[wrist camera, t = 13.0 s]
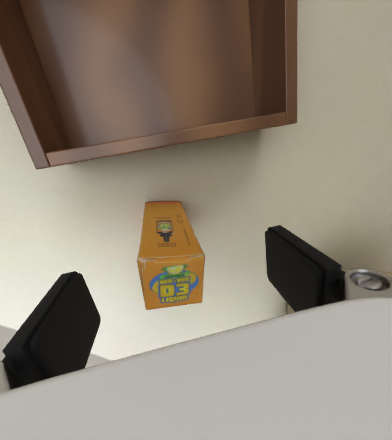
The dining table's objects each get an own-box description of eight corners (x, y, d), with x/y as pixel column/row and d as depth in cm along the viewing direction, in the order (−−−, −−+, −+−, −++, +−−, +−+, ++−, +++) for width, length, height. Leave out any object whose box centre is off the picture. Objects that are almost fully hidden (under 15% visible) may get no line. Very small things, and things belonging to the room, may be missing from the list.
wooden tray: (251, -92, 14) (298, -211, 9) (262, 129, 19) (297, 122, 14) (-22, -79, 12) (-133, -220, 7) (68, 164, 17) (35, 169, 12)
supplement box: (146, 236, 20) (139, 314, 10) (144, 200, 19) (134, 253, 9) (181, 234, 20) (204, 307, 11) (181, 200, 19) (206, 248, 10)
